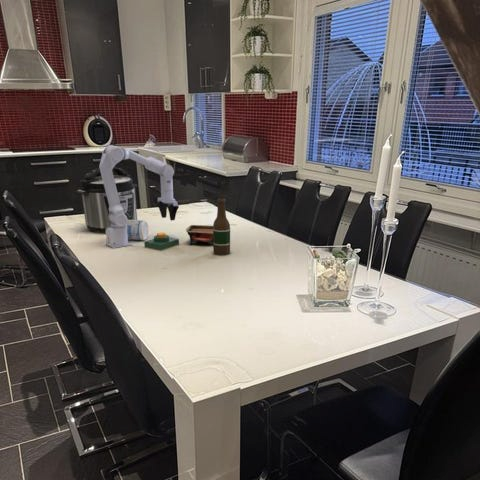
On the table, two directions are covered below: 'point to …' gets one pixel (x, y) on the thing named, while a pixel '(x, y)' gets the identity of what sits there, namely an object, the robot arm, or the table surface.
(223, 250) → the beer bottle
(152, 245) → the button box
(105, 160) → the robot arm
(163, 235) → the button
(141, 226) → the supplement tub
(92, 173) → the pressure cooker
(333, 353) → the table surface
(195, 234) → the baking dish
